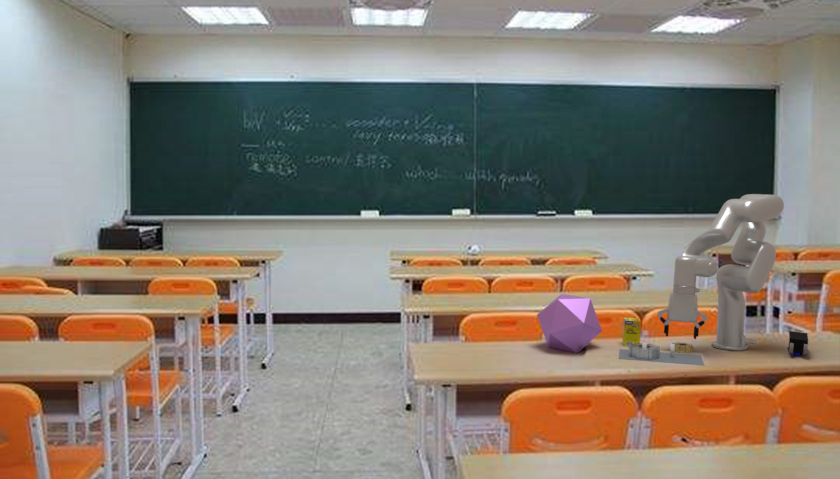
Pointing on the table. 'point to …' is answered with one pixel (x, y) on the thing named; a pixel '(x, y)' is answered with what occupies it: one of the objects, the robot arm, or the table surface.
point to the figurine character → (798, 343)
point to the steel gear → (644, 351)
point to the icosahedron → (569, 323)
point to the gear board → (667, 357)
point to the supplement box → (631, 331)
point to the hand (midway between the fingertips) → (680, 336)
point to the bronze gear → (683, 347)
